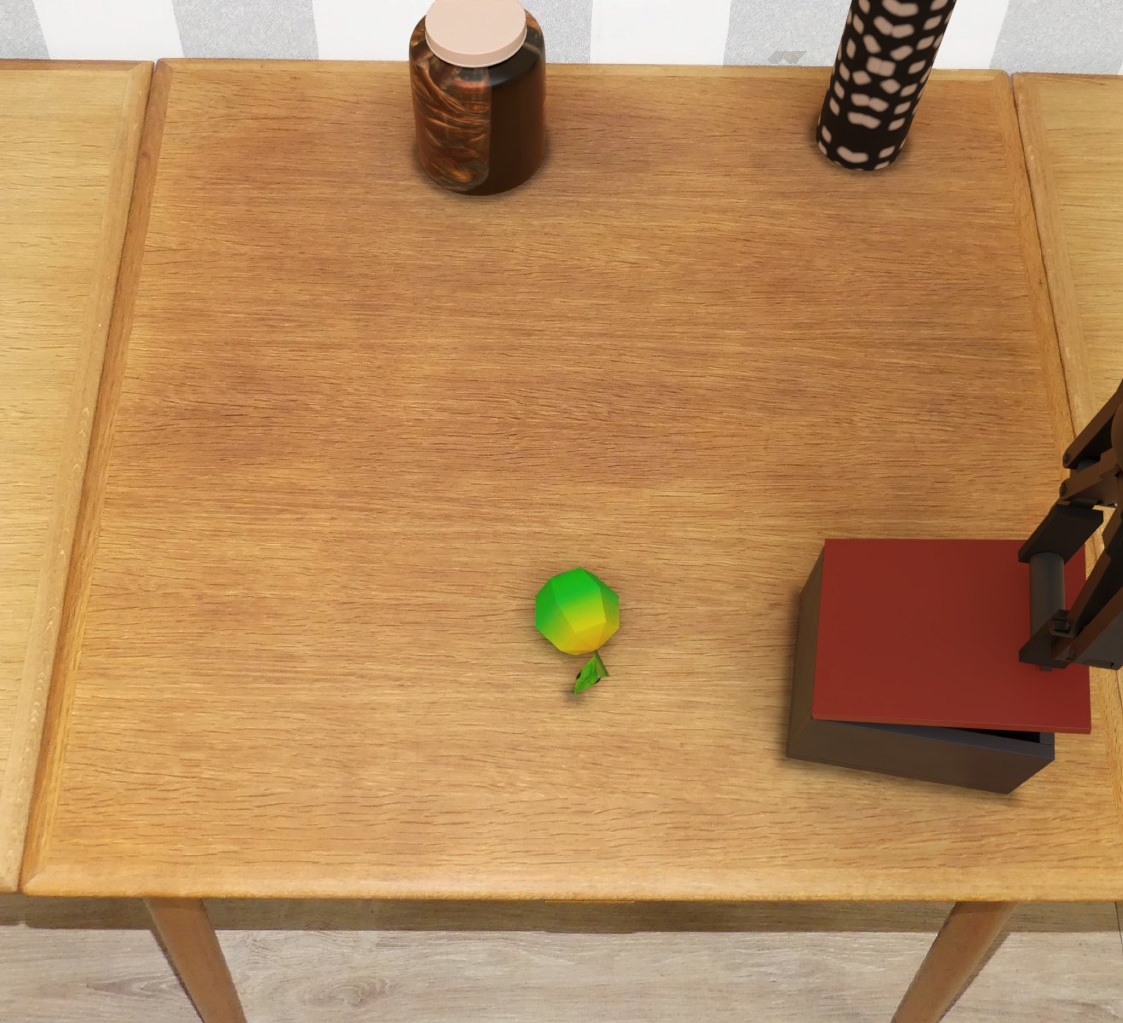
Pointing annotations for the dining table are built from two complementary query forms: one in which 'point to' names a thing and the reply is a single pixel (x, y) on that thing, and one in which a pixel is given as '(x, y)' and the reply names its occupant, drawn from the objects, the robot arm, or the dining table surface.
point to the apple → (578, 618)
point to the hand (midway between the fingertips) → (1040, 608)
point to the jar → (479, 94)
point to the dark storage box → (903, 731)
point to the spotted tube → (879, 79)
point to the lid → (945, 635)
